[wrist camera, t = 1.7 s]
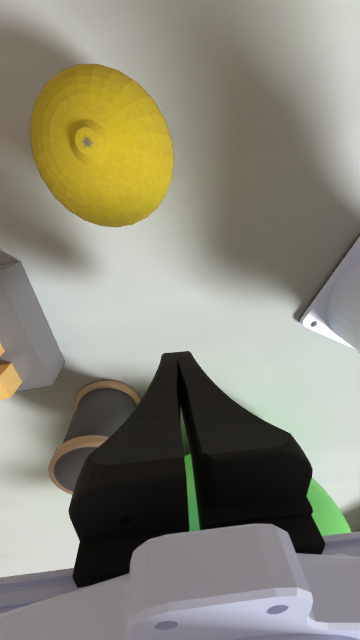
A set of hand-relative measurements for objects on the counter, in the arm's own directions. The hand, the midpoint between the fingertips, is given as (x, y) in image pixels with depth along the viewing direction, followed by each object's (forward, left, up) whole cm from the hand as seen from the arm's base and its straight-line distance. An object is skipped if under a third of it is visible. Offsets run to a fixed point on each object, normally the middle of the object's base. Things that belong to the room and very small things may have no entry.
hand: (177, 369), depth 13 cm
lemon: (+6, -7, -7) cm, 12 cm away
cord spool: (+1, +10, -7) cm, 12 cm away
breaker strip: (+10, +6, -7) cm, 14 cm away
